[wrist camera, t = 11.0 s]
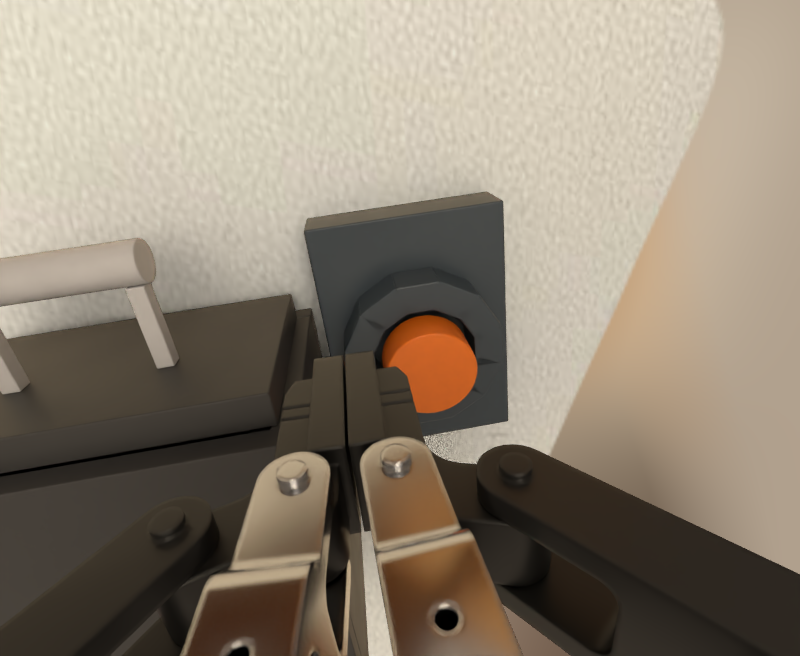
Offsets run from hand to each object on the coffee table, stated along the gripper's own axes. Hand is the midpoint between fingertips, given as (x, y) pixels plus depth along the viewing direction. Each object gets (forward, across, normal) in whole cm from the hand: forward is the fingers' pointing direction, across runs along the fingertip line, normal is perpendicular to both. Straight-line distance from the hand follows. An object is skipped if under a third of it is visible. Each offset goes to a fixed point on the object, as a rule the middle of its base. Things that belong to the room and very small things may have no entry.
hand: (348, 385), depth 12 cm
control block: (+10, -3, +3) cm, 11 cm away
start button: (+7, -3, +3) cm, 8 cm away
